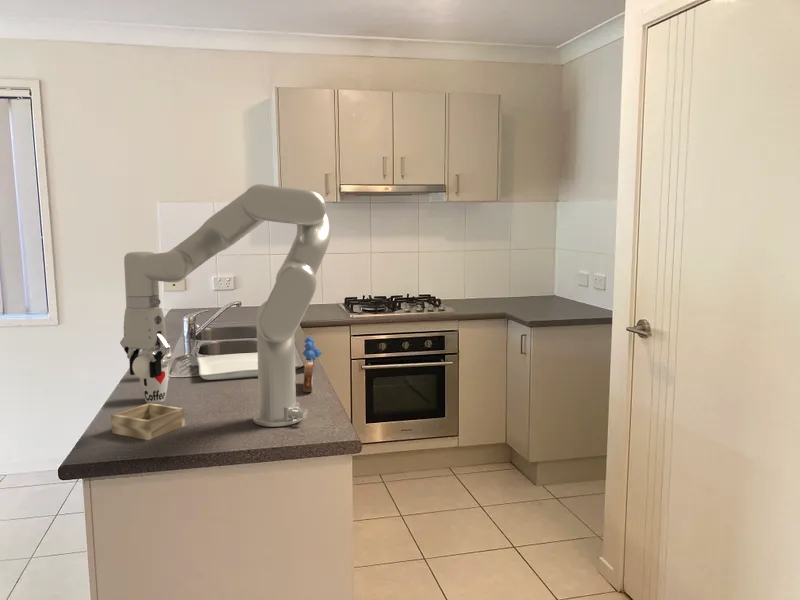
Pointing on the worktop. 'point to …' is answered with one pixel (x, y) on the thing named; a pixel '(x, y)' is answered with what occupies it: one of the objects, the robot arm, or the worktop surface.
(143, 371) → the ball
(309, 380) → the tin
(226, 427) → the worktop surface
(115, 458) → the worktop surface
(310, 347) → the grapes
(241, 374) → the square plate
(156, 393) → the cup
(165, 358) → the wineglass
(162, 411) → the wooden square tray
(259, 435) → the worktop surface
